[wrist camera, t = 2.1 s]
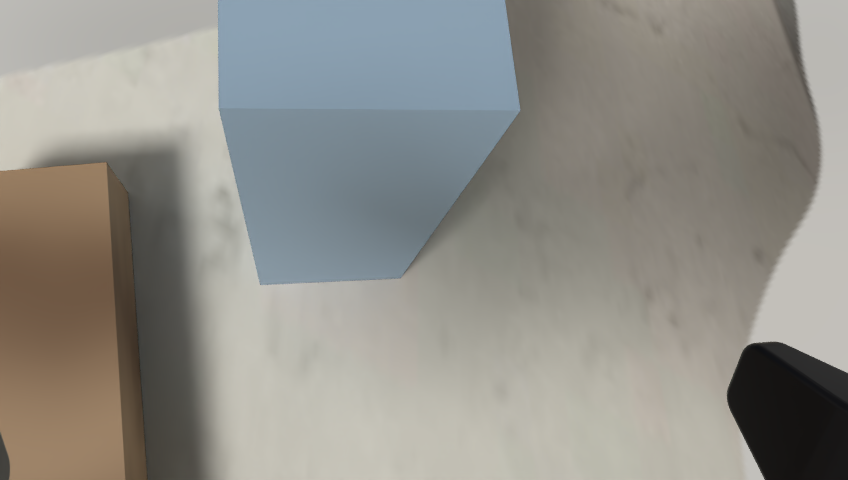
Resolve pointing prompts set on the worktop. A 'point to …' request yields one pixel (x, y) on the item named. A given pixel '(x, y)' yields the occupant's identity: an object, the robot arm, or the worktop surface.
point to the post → (358, 125)
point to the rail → (69, 327)
